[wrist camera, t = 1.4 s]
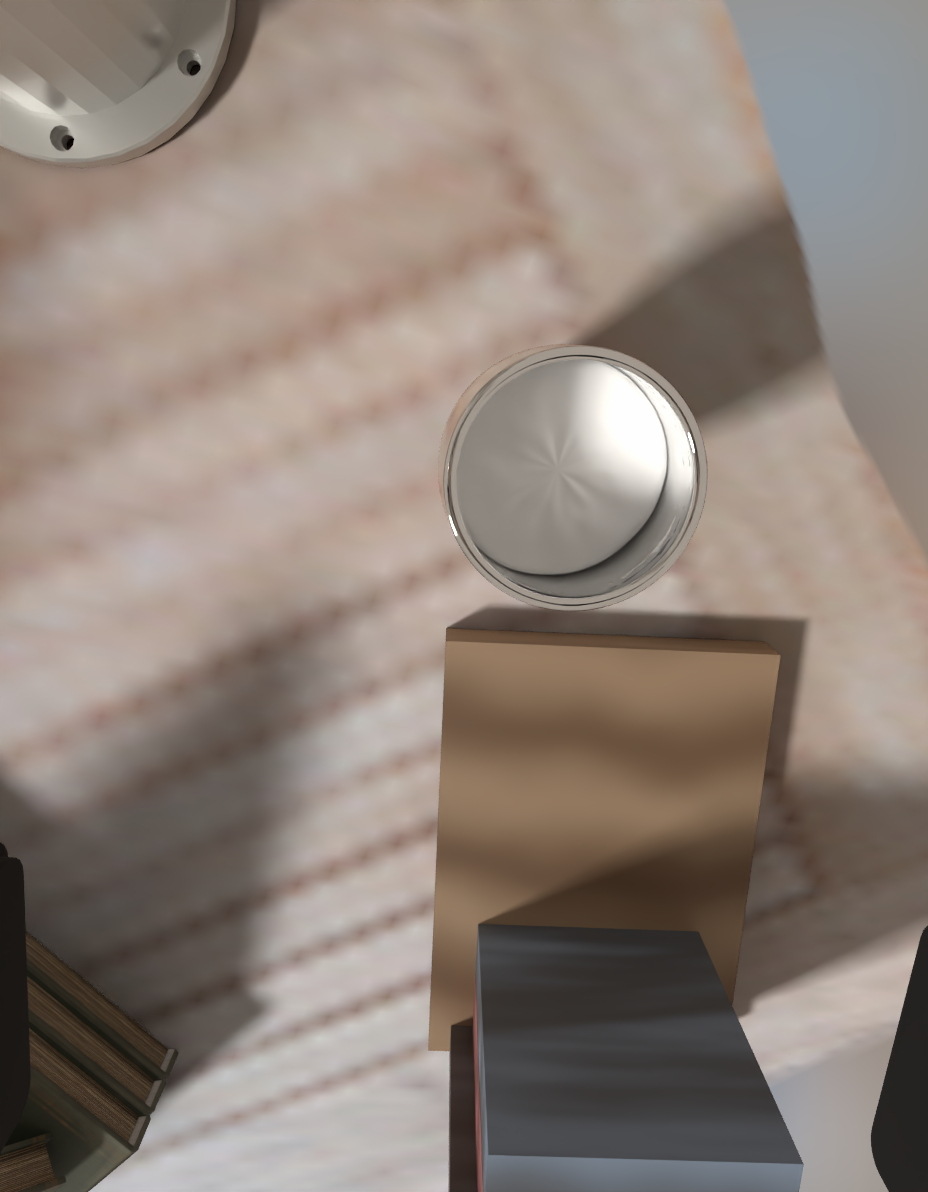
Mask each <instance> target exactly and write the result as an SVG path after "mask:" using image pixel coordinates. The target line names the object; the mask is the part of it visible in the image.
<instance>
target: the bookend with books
mask: <svg viewBox="0 0 928 1192" xmlns="http://www.w3.org/2000/svg"><path fill="white" fill-rule="evenodd" d="M780 656H781V655H780V654H779V653H777V652H776V651H775V650H774V649H772V648H771V647H770V646H769V645H768V644H766V643H765V642H764V641H741V640H717V639H693V638H669V637H645V636H622V635H598V634H574V633H550V632H526V631H503V630H479V629H455V628H446V651H445V674H444V697H443V720H442V743H441V766H440V789H439V812H438V836H437V859H436V882H435V905H434V928H433V951H432V974H431V997H430V1021H429V1045H428V1050H430V1051H450V1084H449V1192H799V1188H800V1182H801V1176H802V1170H803V1162H802V1160H801V1157H800V1155H799V1153H798V1151H797V1149H796V1147H795V1144H794V1142H793V1140H792V1138H791V1135H790V1133H789V1131H788V1129H787V1126H786V1124H785V1122H784V1120H783V1118H782V1115H781V1113H780V1111H779V1109H778V1107H777V1104H776V1102H775V1100H774V1098H773V1095H772V1093H771V1091H770V1089H769V1087H768V1084H767V1082H766V1080H765V1078H764V1076H763V1073H762V1071H761V1069H760V1067H759V1065H758V1062H757V1060H756V1058H755V1056H754V1053H753V1051H752V1049H751V1047H750V1045H749V1042H748V1040H747V1038H746V1036H745V1034H744V1031H743V1029H742V1027H741V1025H740V1022H739V1020H738V1018H737V1016H736V1014H735V1011H734V1009H733V1007H732V1003H733V996H734V989H735V981H736V974H737V967H738V960H739V952H740V945H741V938H742V931H743V924H744V916H745V909H746V902H747V895H748V887H749V880H750V873H751V866H752V858H753V851H754V844H755V837H756V829H757V822H758V815H759V808H760V801H761V793H762V786H763V779H764V772H765V764H766V757H767V750H768V743H769V735H770V728H771V721H772V714H773V706H774V699H775V692H776V685H777V678H778V670H779V663H780Z"/></svg>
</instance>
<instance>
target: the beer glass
mask: <svg viewBox="0 0 928 1192" xmlns="http://www.w3.org/2000/svg"><path fill="white" fill-rule="evenodd" d="M707 479H708V469H707V457H706V451H705V446H704V442H703V438H702V435H701V432H700V429H699V426H698V424H697V421H696V419H695V417H694V415H693V413H692V411H691V410H690V408H689V406H688V405H687V403H686V401H685V400H684V399H683V397H682V396H681V395H680V393H679V392H678V391H677V390H676V389H675V387H674V386H673V385H672V384H671V383H670V382H669V381H668V380H667V379H666V378H665V377H663V376H662V375H661V374H660V373H659V372H657V371H656V370H655V369H653V368H652V367H650V366H649V365H647V364H645V363H644V362H642V361H640V360H638V359H636V358H634V357H632V356H630V355H627V354H625V353H622V352H619V351H615V350H612V349H608V348H603V347H596V346H586V345H574V344H556V345H547V346H541V347H536V348H532V349H528V350H524V351H521V352H518V353H516V354H513V355H511V356H509V357H507V358H505V359H503V360H501V361H499V362H498V363H496V364H494V365H493V366H491V367H490V368H489V369H487V370H486V371H485V372H483V373H482V374H481V375H480V376H479V377H478V378H476V379H475V380H474V381H473V382H472V383H471V385H470V386H469V387H468V388H467V389H466V390H465V392H464V393H463V394H462V395H461V397H460V398H459V400H458V401H457V403H456V404H455V406H454V408H453V410H452V412H451V414H450V416H449V418H448V420H447V422H446V425H445V428H444V431H443V434H442V438H441V442H440V447H439V454H438V483H439V491H440V496H441V501H442V505H443V508H444V511H445V514H446V517H447V519H448V522H449V524H450V526H451V529H452V532H453V534H454V536H455V538H456V540H457V542H458V544H459V546H460V548H461V550H462V551H463V553H464V554H465V556H466V557H467V559H468V560H469V561H470V563H471V564H472V565H473V566H474V567H475V569H476V570H477V571H478V572H479V573H480V574H481V575H482V576H483V577H484V578H485V579H486V580H488V581H489V582H490V583H491V584H493V585H494V586H495V587H497V588H498V589H499V590H501V591H503V592H504V593H506V594H508V595H509V596H511V597H513V598H515V599H517V600H520V601H522V602H524V603H527V604H530V605H533V606H537V607H540V608H545V609H550V610H558V611H585V610H592V609H598V608H603V607H606V606H610V605H613V604H616V603H619V602H621V601H624V600H626V599H628V598H630V597H632V596H634V595H636V594H638V593H639V592H641V591H643V590H644V589H646V588H647V587H649V586H650V585H652V584H653V583H654V582H655V581H657V580H658V579H659V578H660V577H661V576H663V575H664V574H665V573H666V572H667V571H668V570H669V569H670V568H671V567H672V565H673V564H674V563H675V562H676V561H677V560H678V558H679V557H680V556H681V554H682V553H683V551H684V550H685V548H686V547H687V545H688V544H689V542H690V540H691V538H692V536H693V534H694V532H695V530H696V528H697V525H698V523H699V520H700V517H701V514H702V511H703V507H704V503H705V498H706V491H707Z"/></svg>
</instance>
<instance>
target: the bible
mask: <svg viewBox="0 0 928 1192" xmlns="http://www.w3.org/2000/svg"><path fill="white" fill-rule="evenodd" d="M26 957H27V986H28V1014H29V1043H30V1071H31V1079H30V1088H29V1094H28V1098H27V1102H26V1105H25V1108H24V1110H23V1113H22V1116H21V1118H20V1120H19V1122H18V1124H17V1125H16V1127H15V1129H14V1131H13V1132H12V1134H11V1136H10V1137H9V1139H8V1141H7V1143H6V1144H5V1146H4V1148H3V1150H2V1151H1V1153H0V1192H88V1191H90V1190H91V1189H92V1188H93V1187H94V1186H96V1185H97V1184H98V1183H99V1182H100V1181H102V1180H103V1179H104V1178H105V1177H106V1176H108V1175H109V1174H110V1173H111V1172H112V1171H113V1170H115V1169H116V1168H117V1167H118V1166H119V1165H121V1164H122V1163H123V1162H124V1161H125V1160H127V1159H128V1158H129V1157H130V1156H131V1155H133V1154H134V1153H135V1152H136V1151H137V1150H138V1149H139V1146H140V1144H141V1141H142V1139H143V1137H144V1134H145V1132H146V1129H147V1127H148V1125H149V1122H150V1120H151V1119H150V1114H151V1113H152V1112H153V1111H154V1110H155V1108H156V1105H157V1103H158V1101H159V1098H160V1096H161V1093H162V1091H163V1089H164V1086H165V1084H166V1083H165V1078H167V1077H168V1076H169V1074H170V1072H171V1069H172V1067H173V1065H174V1062H175V1060H176V1057H177V1055H178V1051H177V1050H176V1049H167V1048H166V1047H165V1046H163V1045H162V1044H161V1043H160V1042H159V1041H157V1040H156V1039H155V1038H154V1037H153V1036H151V1035H150V1034H149V1033H148V1032H147V1031H145V1030H144V1029H143V1028H142V1027H141V1026H139V1025H138V1024H137V1023H136V1022H135V1021H133V1020H132V1019H131V1018H130V1017H129V1016H127V1015H126V1014H125V1013H124V1012H123V1011H121V1010H120V1009H119V1008H118V1007H117V1006H115V1005H114V1004H113V1003H112V1002H111V1001H109V1000H108V999H107V998H106V997H105V996H103V995H102V994H101V993H100V992H99V991H97V990H96V989H95V988H94V987H93V986H91V985H90V984H89V983H88V982H87V981H85V980H84V979H83V978H82V977H81V976H79V975H78V974H77V973H76V972H75V971H73V970H72V969H71V968H70V967H69V966H67V965H66V964H65V963H64V962H63V961H61V960H60V959H59V958H58V957H57V956H55V955H54V954H53V953H52V952H51V951H49V950H48V949H47V948H46V947H45V946H43V945H42V944H41V943H40V942H39V941H37V940H36V939H35V938H34V937H33V936H31V935H30V934H29V933H28V932H27V931H26Z"/></svg>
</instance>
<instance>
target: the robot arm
mask: <svg viewBox="0 0 928 1192" xmlns="http://www.w3.org/2000/svg"><path fill="white" fill-rule="evenodd" d="M235 8H236V0H0V146H1V147H3V148H5V149H7V150H9V151H11V152H13V153H15V154H17V155H19V156H22V157H26V158H29V159H32V160H35V161H39V162H42V163H45V164H48V165H54V166H64V167H74V168H90V167H100V166H109V165H115V164H118V163H121V162H124V161H127V160H130V159H133V158H136V157H139V156H142V155H144V154H146V153H147V152H149V151H151V150H152V149H154V148H156V147H158V146H159V145H161V144H163V143H164V142H166V141H168V140H169V139H170V138H171V137H173V136H174V135H175V134H176V133H177V132H178V131H179V130H180V129H181V128H182V127H183V126H185V125H186V124H187V123H188V122H189V121H190V120H191V119H192V118H193V117H194V115H195V114H196V113H197V111H198V110H199V108H200V107H201V106H202V104H203V103H204V101H205V100H206V99H207V97H208V96H209V95H210V93H211V92H212V90H213V87H214V85H215V83H216V81H217V79H218V76H219V74H220V72H221V70H222V68H223V66H224V63H225V61H226V57H227V53H228V49H229V45H230V41H231V37H232V33H233V30H234V22H235ZM193 65H200V66H201V69H200V71H199V72H198V73H197V74H196V75H193V76H191V74H190V70H191V68H192V66H193ZM72 138H74V143H73V146H72V147H71V148H70V149H69V150H68V149H67V146H66V145H67V141H68V140H69V139H72ZM30 1079H31V1071H30V1043H29V1014H28V986H27V957H26V929H25V900H24V873H23V866H22V863H21V861H20V860H19V859H18V858H13V857H8V853H7V850H6V848H5V846H4V845H3V844H2V843H0V1153H1V1151H2V1150H3V1148H4V1146H5V1144H6V1143H7V1141H8V1139H9V1137H10V1136H11V1134H12V1132H13V1131H14V1129H15V1127H16V1125H17V1124H18V1122H19V1120H20V1118H21V1116H22V1113H23V1110H24V1108H25V1105H26V1102H27V1098H28V1094H29V1088H30ZM871 1147H872V1153H873V1157H874V1161H875V1164H876V1167H877V1170H878V1172H879V1174H880V1176H881V1178H882V1179H883V1181H884V1183H885V1185H886V1187H887V1189H888V1191H889V1192H928V926H927V927H926V928H925V929H924V930H923V933H922V935H921V938H920V942H919V946H918V950H917V954H916V958H915V961H914V965H913V969H912V973H911V977H910V981H909V985H908V989H907V993H906V997H905V1001H904V1005H903V1008H902V1012H901V1016H900V1020H899V1024H898V1028H897V1032H896V1036H895V1040H894V1044H893V1048H892V1052H891V1056H890V1059H889V1063H888V1067H887V1071H886V1075H885V1079H884V1083H883V1087H882V1091H881V1095H880V1099H879V1103H878V1106H877V1110H876V1114H875V1118H874V1122H873V1126H872V1132H871Z"/></svg>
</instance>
